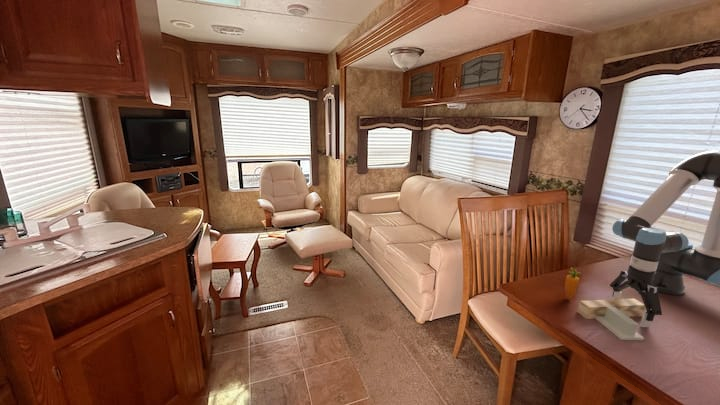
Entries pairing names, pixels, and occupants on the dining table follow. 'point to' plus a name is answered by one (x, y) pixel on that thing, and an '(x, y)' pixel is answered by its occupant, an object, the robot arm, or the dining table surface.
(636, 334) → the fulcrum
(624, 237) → the robot arm
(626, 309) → the birch bar
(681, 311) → the dining table surface
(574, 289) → the carrot
